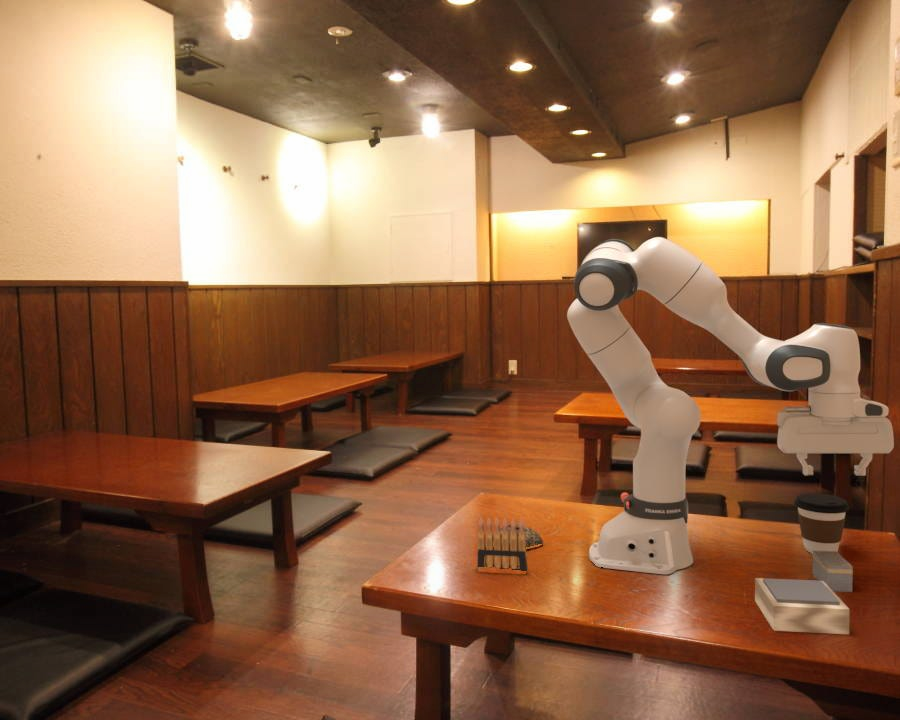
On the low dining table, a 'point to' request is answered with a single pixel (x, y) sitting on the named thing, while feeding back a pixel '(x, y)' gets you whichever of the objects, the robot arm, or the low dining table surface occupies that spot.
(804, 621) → the stand
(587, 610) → the low dining table surface
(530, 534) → the dark speckled curved piece
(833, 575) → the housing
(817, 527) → the coffee cup
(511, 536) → the ammunition clip
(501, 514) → the low dining table surface
